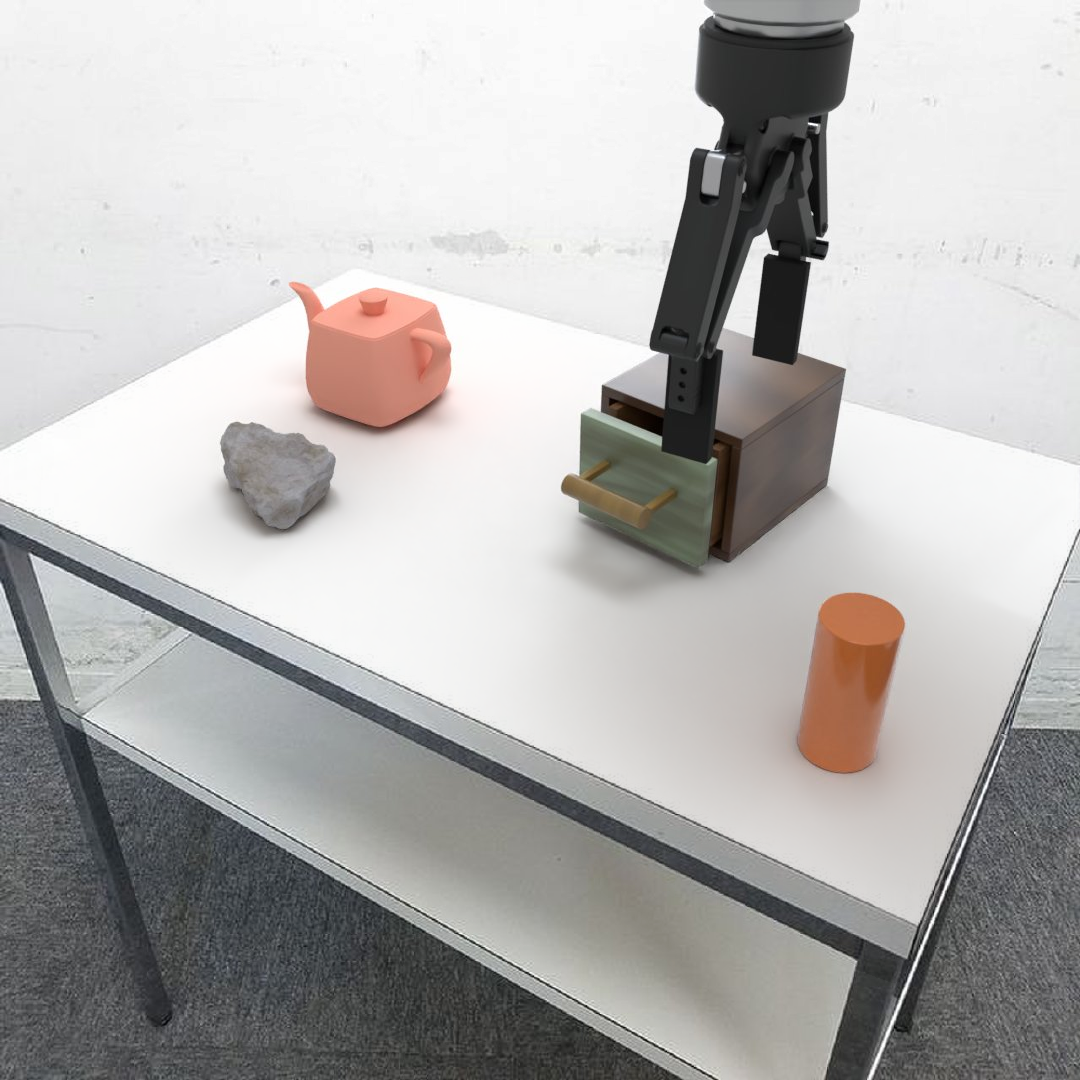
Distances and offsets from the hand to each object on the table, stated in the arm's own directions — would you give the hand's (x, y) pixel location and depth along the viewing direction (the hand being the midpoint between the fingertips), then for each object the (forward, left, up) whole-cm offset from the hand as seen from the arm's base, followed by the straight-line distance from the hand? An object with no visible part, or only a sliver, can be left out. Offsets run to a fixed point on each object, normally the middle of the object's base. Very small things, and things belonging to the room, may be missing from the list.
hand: (733, 403), depth 70 cm
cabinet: (+11, -16, -19) cm, 27 cm away
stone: (+37, +8, -19) cm, 42 cm away
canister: (-11, +3, -19) cm, 22 cm away
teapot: (+44, -9, -19) cm, 49 cm away
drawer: (+11, -10, -18) cm, 23 cm away
